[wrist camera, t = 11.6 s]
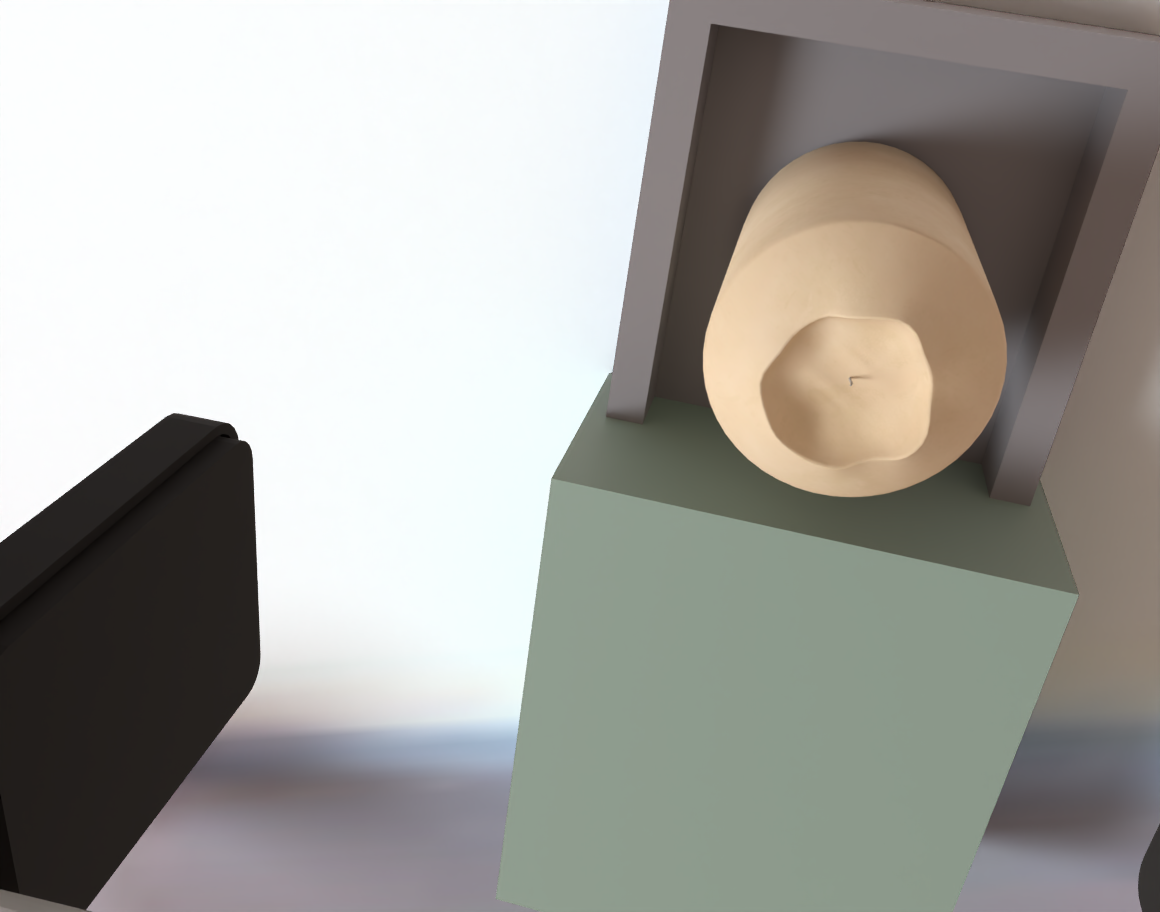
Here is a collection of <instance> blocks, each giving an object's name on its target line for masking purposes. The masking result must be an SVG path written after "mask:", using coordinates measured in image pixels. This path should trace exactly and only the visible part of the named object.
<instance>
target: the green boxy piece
mask: <svg viewBox="0 0 1160 912" xmlns="http://www.w3.org/2000/svg"><path fill="white" fill-rule="evenodd" d="M844 142H872V143H880V144H884V145H887V146H891V147H895V148H897V149H900V150H902V151H904V152H907V153H909V154H911V155H912V156H914V157H916V158H917V159H919V160H921V161H922V162H923V163H925V164H926V165H927V166H928V167H930V168H931V169H932V170H933V171H934V172H935V173H936V174H937V175H938V176H939V177H940V178H941V179H942V180H943V182H944V183H945V184H946V186H947V187H948V189H949V190H950V192H951V193H952V195H953V197H954V199H955V201H956V203H957V205H958V207H959V209H960V211H961V213H962V216H963V218H964V221H965V224H966V226H967V229H968V231H969V234H970V236H971V239H972V242H973V244H974V247H975V249H976V252H977V254H978V257H979V260H980V262H981V265H982V267H983V270H984V272H985V275H986V278H987V280H988V283H989V285H990V288H991V290H992V293H993V296H994V298H995V301H996V304H997V306H998V309H999V312H1000V316H1001V319H1002V322H1003V325H1004V331H1005V337H1006V343H1007V365H1006V373H1005V381H1004V384H1003V388H1002V391H1001V395H1000V399H999V401H998V403H997V405H996V408H995V410H994V412H993V415H992V417H991V418H990V420H989V421H988V423H987V425H986V426H985V428H984V430H983V431H982V433H981V434H980V435H979V436H978V438H977V439H976V440H975V441H974V443H973V444H972V445H971V446H970V447H969V448H968V449H967V450H966V451H965V452H964V453H963V454H962V455H961V456H960V457H959V458H958V459H957V460H955V461H954V462H953V463H951V464H950V465H949V466H947V467H946V468H945V469H943V470H942V471H940V472H939V473H937V474H935V475H933V476H931V477H930V478H928V479H926V480H924V481H922V482H920V483H917V484H915V485H912V486H910V487H908V488H905V489H901V490H898V491H894V492H891V493H886V494H880V495H874V496H866V497H838V496H829V495H823V494H817V493H812V492H809V491H806V490H802V489H799V488H796V487H794V486H791V485H789V484H787V483H784V482H782V481H780V480H778V479H776V478H774V477H773V476H771V475H769V474H768V473H766V472H764V471H763V470H761V469H760V468H759V467H757V466H756V465H755V464H753V463H752V462H751V461H749V460H748V459H747V458H746V457H745V456H744V455H743V454H742V453H741V452H740V451H739V450H738V449H737V448H736V447H735V445H734V444H733V443H732V441H731V440H730V439H729V438H728V436H727V435H726V434H725V432H724V430H723V429H722V427H721V425H720V424H719V422H718V420H717V419H716V416H715V414H714V412H713V409H712V407H711V404H710V402H709V398H708V394H707V391H706V387H705V380H704V373H703V349H704V342H705V335H706V331H707V327H708V324H709V321H710V317H711V314H712V311H713V308H714V306H715V303H716V300H717V297H718V294H719V292H720V289H721V286H722V283H723V281H724V278H725V275H726V272H727V270H728V267H729V264H730V261H731V258H732V256H733V253H734V250H735V247H736V245H737V242H738V239H739V236H740V234H741V231H742V228H743V225H744V223H745V221H746V218H747V216H748V214H749V212H750V209H751V207H752V205H753V203H754V202H755V200H756V198H757V197H758V195H759V193H760V192H761V191H762V189H763V188H764V187H765V186H766V184H767V183H768V182H769V181H770V180H771V179H772V178H773V177H774V176H775V175H776V174H777V173H778V172H779V171H780V170H781V169H782V168H784V167H785V166H786V165H788V164H789V163H790V162H792V161H793V160H795V159H797V158H799V157H800V156H802V155H804V154H806V153H808V152H811V151H813V150H815V149H818V148H821V147H824V146H828V145H832V144H836V143H844ZM1159 146H1160V36H1158V35H1151V34H1145V33H1138V32H1131V31H1125V30H1118V29H1112V28H1105V27H1098V26H1092V25H1085V24H1079V23H1072V22H1065V21H1059V20H1052V19H1046V18H1039V17H1032V16H1026V15H1019V14H1013V13H1006V12H1000V11H993V10H986V9H980V8H973V7H967V6H960V5H953V4H947V3H940V2H934V1H927V0H670V2H669V8H668V15H667V21H666V28H665V34H664V41H663V47H662V54H661V60H660V67H659V73H658V80H657V87H656V93H655V100H654V106H653V113H652V119H651V126H650V132H649V139H648V145H647V152H646V158H645V165H644V171H643V178H642V184H641V191H640V197H639V204H638V210H637V217H636V223H635V230H634V236H633V243H632V249H631V256H630V262H629V269H628V275H627V282H626V288H625V295H624V301H623V308H622V314H621V321H620V328H619V334H618V341H617V347H616V354H615V360H614V367H613V373H612V374H611V373H609V375H608V377H607V378H606V380H605V382H604V384H603V386H602V387H601V389H600V391H599V393H598V395H597V397H596V398H595V400H594V402H593V404H592V406H591V408H590V409H589V411H588V413H587V415H586V417H585V418H584V420H583V422H582V424H581V426H580V428H579V429H578V431H577V433H576V435H575V437H574V438H573V440H572V442H571V444H570V446H569V448H568V449H567V451H566V453H565V455H564V457H563V459H562V460H561V462H560V464H559V466H558V468H557V469H556V471H555V473H554V475H553V477H552V479H551V487H550V494H549V502H548V509H547V517H546V524H545V532H544V539H543V547H542V554H541V562H540V569H539V577H538V585H537V592H536V600H535V607H534V615H533V622H532V630H531V637H530V645H529V652H528V660H527V667H526V675H525V682H524V690H523V698H522V705H521V713H520V720H519V728H518V735H517V743H516V750H515V758H514V765H513V773H512V780H511V788H510V795H509V803H508V811H507V818H506V826H505V833H504V841H503V848H502V856H501V863H500V871H499V878H498V886H497V893H496V899H498V900H501V901H505V902H509V903H512V904H516V905H519V906H523V907H527V908H530V909H534V910H537V911H541V912H953V910H954V907H955V905H956V902H957V900H958V897H959V895H960V892H961V890H962V887H963V885H964V882H965V880H966V877H967V874H968V872H969V869H970V867H971V864H972V862H973V859H974V857H975V854H976V852H977V849H978V847H979V844H980V842H981V839H982V837H983V834H984V832H985V829H986V827H987V824H988V822H989V819H990V817H991V814H992V812H993V809H994V807H995V804H996V802H997V799H998V797H999V794H1000V792H1001V789H1002V787H1003V784H1004V782H1005V779H1006V777H1007V774H1008V772H1009V769H1010V767H1011V764H1012V762H1013V759H1014V757H1015V754H1016V752H1017V749H1018V747H1019V744H1020V742H1021V739H1022V737H1023V734H1024V732H1025V729H1026V727H1027V724H1028V722H1029V719H1030V717H1031V714H1032V712H1033V709H1034V707H1035V704H1036V702H1037V699H1038V697H1039V694H1040V692H1041V689H1042V687H1043V684H1044V682H1045V679H1046V677H1047V674H1048V672H1049V669H1050V667H1051V664H1052V662H1053V659H1054V657H1055V654H1056V652H1057V649H1058V647H1059V644H1060V642H1061V639H1062V637H1063V634H1064V632H1065V629H1066V627H1067V624H1068V622H1069V619H1070V617H1071V614H1072V612H1073V609H1074V607H1075V604H1076V602H1077V599H1078V597H1079V593H1078V590H1077V587H1076V584H1075V581H1074V578H1073V575H1072V573H1071V570H1070V567H1069V564H1068V561H1067V558H1066V555H1065V552H1064V549H1063V546H1062V543H1061V540H1060V537H1059V534H1058V531H1057V529H1056V526H1055V523H1054V520H1053V517H1052V514H1051V511H1050V508H1049V505H1048V502H1047V499H1046V496H1045V493H1044V490H1043V487H1042V485H1041V482H1040V477H1041V475H1042V472H1043V469H1044V466H1045V463H1046V461H1047V458H1048V455H1049V452H1050V450H1051V447H1052V444H1053V441H1054V438H1055V436H1056V433H1057V430H1058V427H1059V425H1060V422H1061V419H1062V416H1063V413H1064V411H1065V408H1066V405H1067V402H1068V400H1069V397H1070V394H1071V391H1072V388H1073V386H1074V383H1075V380H1076V377H1077V374H1078V372H1079V369H1080V366H1081V363H1082V361H1083V358H1084V355H1085V352H1086V349H1087V347H1088V344H1089V341H1090V338H1091V336H1092V333H1093V330H1094V327H1095V324H1096V322H1097V319H1098V316H1099V313H1100V311H1101V308H1102V305H1103V302H1104V299H1105V297H1106V294H1107V291H1108V288H1109V286H1110V283H1111V280H1112V277H1113V274H1114V272H1115V269H1116V266H1117V263H1118V260H1119V258H1120V255H1121V252H1122V249H1123V247H1124V244H1125V241H1126V238H1127V235H1128V233H1129V230H1130V227H1131V224H1132V222H1133V219H1134V216H1135V213H1136V210H1137V208H1138V205H1139V202H1140V199H1141V197H1142V194H1143V191H1144V188H1145V185H1146V183H1147V180H1148V177H1149V174H1150V172H1151V169H1152V166H1153V163H1154V160H1155V158H1156V155H1157V152H1158V149H1159Z"/></svg>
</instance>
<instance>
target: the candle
mask: <svg viewBox="0 0 1160 912" xmlns="http://www.w3.org/2000/svg"><path fill="white" fill-rule="evenodd" d="M1006 365H1007V343H1006V337H1005V331H1004V325H1003V322H1002V319H1001V316H1000V312H999V309H998V306H997V304H996V301H995V298H994V296H993V293H992V290H991V288H990V285H989V283H988V280H987V278H986V275H985V272H984V270H983V267H982V265H981V262H980V260H979V257H978V254H977V252H976V249H975V247H974V244H973V242H972V239H971V236H970V234H969V231H968V229H967V226H966V224H965V221H964V218H963V216H962V213H961V211H960V209H959V207H958V205H957V203H956V201H955V199H954V197H953V195H952V193H951V192H950V190H949V189H948V187H947V186H946V184H945V183H944V182H943V180H942V179H941V178H940V177H939V176H938V175H937V174H936V173H935V172H934V171H933V170H932V169H931V168H930V167H928V166H927V165H926V164H925V163H923V162H922V161H921V160H919V159H917V158H916V157H914V156H912V155H911V154H909V153H907V152H904V151H902V150H900V149H897V148H895V147H891V146H887V145H884V144H880V143H872V142H844V143H836V144H832V145H828V146H824V147H821V148H818V149H815V150H813V151H811V152H808V153H806V154H804V155H802V156H800V157H799V158H797V159H795V160H793V161H792V162H790V163H789V164H788V165H786V166H785V167H784V168H782V169H781V170H780V171H779V172H778V173H777V174H776V175H775V176H774V177H773V178H772V179H771V180H770V181H769V182H768V183H767V184H766V186H765V187H764V188H763V189H762V191H761V192H760V193H759V195H758V197H757V198H756V200H755V202H754V203H753V205H752V207H751V209H750V212H749V214H748V216H747V218H746V221H745V223H744V225H743V228H742V231H741V234H740V236H739V239H738V242H737V245H736V247H735V250H734V253H733V256H732V258H731V261H730V264H729V267H728V270H727V272H726V275H725V278H724V281H723V283H722V286H721V289H720V292H719V294H718V297H717V300H716V303H715V306H714V308H713V311H712V314H711V317H710V321H709V324H708V327H707V331H706V335H705V342H704V349H703V373H704V380H705V387H706V391H707V394H708V398H709V402H710V404H711V407H712V409H713V412H714V414H715V416H716V419H717V420H718V422H719V424H720V425H721V427H722V429H723V430H724V432H725V434H726V435H727V436H728V438H729V439H730V440H731V441H732V443H733V444H734V445H735V447H736V448H737V449H738V450H739V451H740V452H741V453H742V454H743V455H744V456H745V457H746V458H747V459H748V460H749V461H751V462H752V463H753V464H755V465H756V466H757V467H759V468H760V469H761V470H763V471H764V472H766V473H768V474H769V475H771V476H773V477H774V478H776V479H778V480H780V481H782V482H784V483H787V484H789V485H791V486H794V487H796V488H799V489H802V490H806V491H809V492H812V493H817V494H823V495H829V496H838V497H866V496H874V495H880V494H886V493H891V492H894V491H898V490H901V489H905V488H908V487H910V486H912V485H915V484H917V483H920V482H922V481H924V480H926V479H928V478H930V477H931V476H933V475H935V474H937V473H939V472H940V471H942V470H943V469H945V468H946V467H947V466H949V465H950V464H951V463H953V462H954V461H955V460H957V459H958V458H959V457H960V456H961V455H962V454H963V453H964V452H965V451H966V450H967V449H968V448H969V447H970V446H971V445H972V444H973V443H974V441H975V440H976V439H977V438H978V436H979V435H980V434H981V433H982V431H983V430H984V428H985V426H986V425H987V423H988V421H989V420H990V418H991V417H992V415H993V412H994V410H995V408H996V405H997V403H998V401H999V399H1000V395H1001V391H1002V388H1003V384H1004V381H1005V373H1006Z"/></svg>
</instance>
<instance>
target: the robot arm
mask: <svg viewBox="0 0 1160 912" xmlns="http://www.w3.org/2000/svg"><path fill="white" fill-rule="evenodd" d="M259 666H260V632H259V606H258V581H257V556H256V530H255V505H254V480H253V457H252V450H251V448H250V446H249V444H248V443H247V442H246V441H241V440H238V435H237V433H236V431H235V428H234V427H233V426H232V425H230V424H229V423H224V422H219V421H214V420H209V419H204V418H199V417H194V416H189V415H183V414H176V413H173V414H171V415H169V416H167V417H165V418H164V419H163V420H161V421H160V422H159V423H157V424H156V425H155V426H153V427H152V428H151V429H150V430H148V431H147V432H146V433H144V434H143V435H142V436H140V437H139V438H138V439H136V440H135V441H134V442H132V443H131V444H130V445H128V446H127V447H126V448H124V449H123V450H122V451H121V452H119V453H118V454H117V455H115V456H114V457H113V458H111V459H110V460H109V461H107V462H106V463H105V464H103V465H102V466H101V467H99V468H98V469H97V470H95V471H94V472H93V473H92V474H90V475H89V476H88V477H86V478H85V479H84V480H82V481H81V482H80V483H78V484H77V485H76V486H74V487H73V488H72V489H70V490H69V491H68V492H66V493H65V494H64V495H63V496H61V497H60V498H59V499H57V500H56V501H55V502H53V503H52V504H51V505H49V506H48V507H47V508H45V509H44V510H43V511H41V512H40V513H39V514H37V515H36V516H35V517H33V518H32V519H31V520H30V521H28V522H27V523H26V524H24V525H23V526H22V527H20V528H19V529H18V530H16V531H15V532H14V533H12V534H11V535H10V536H8V537H7V538H6V539H4V540H3V541H2V542H1V543H0V912H91V911H87V910H86V909H87V908H88V906H89V905H90V904H91V902H92V901H93V900H94V898H95V897H96V896H97V894H98V893H99V892H100V890H101V889H102V888H103V887H104V885H105V884H106V883H107V881H108V880H109V879H110V877H111V876H112V875H113V873H114V872H115V871H116V869H117V868H118V867H119V865H120V864H121V863H122V861H123V860H124V859H125V857H126V856H127V855H128V853H129V852H130V851H131V849H132V848H133V847H134V845H135V844H136V843H137V841H138V840H139V839H140V837H141V836H142V835H143V833H144V832H145V831H146V830H147V828H148V827H149V826H150V824H151V823H152V822H153V820H154V819H155V818H156V816H157V815H158V814H159V812H160V811H161V810H162V808H163V807H164V806H165V804H166V803H167V802H168V800H169V799H170V798H171V796H172V795H173V794H174V792H175V791H176V790H177V788H178V787H179V786H180V784H181V783H182V782H183V780H184V779H185V778H186V776H187V775H188V774H189V773H190V771H191V770H192V769H193V767H194V766H195V765H196V763H197V762H198V761H199V759H200V758H201V757H202V755H203V754H204V753H205V751H206V750H207V749H208V747H209V746H210V745H211V743H212V742H213V741H214V739H215V738H216V737H217V735H218V734H219V733H220V731H221V730H222V729H223V727H224V726H225V725H226V723H227V722H228V721H229V719H230V718H231V717H232V716H233V714H234V713H235V712H236V710H237V709H238V708H239V706H240V705H241V704H242V702H243V701H244V700H245V698H246V697H247V696H248V694H249V693H250V691H251V689H252V687H253V685H254V683H255V681H256V678H257V674H258V671H259ZM1138 892H1139V900H1140V905H1141V908H1142V912H1160V825H1159V827H1158V829H1157V831H1156V833H1155V835H1154V837H1153V839H1152V841H1151V843H1150V846H1149V848H1148V850H1147V852H1146V854H1145V856H1144V858H1143V861H1142V864H1141V868H1140V872H1139V881H1138Z"/></svg>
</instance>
